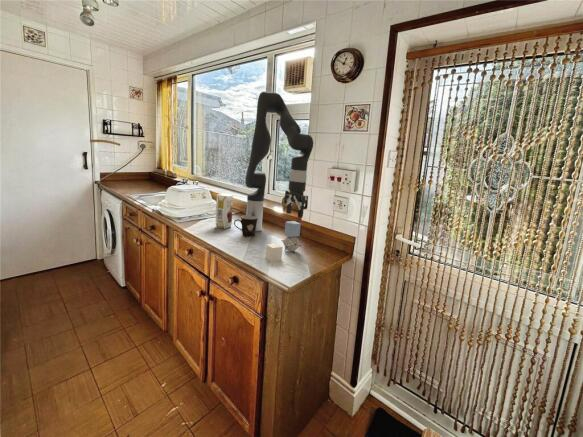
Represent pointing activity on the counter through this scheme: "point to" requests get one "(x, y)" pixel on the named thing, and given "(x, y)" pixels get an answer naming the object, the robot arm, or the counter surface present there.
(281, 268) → the counter surface
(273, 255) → the cream block
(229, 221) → the juice carton
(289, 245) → the game die
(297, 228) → the slate block
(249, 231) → the coffee mug
